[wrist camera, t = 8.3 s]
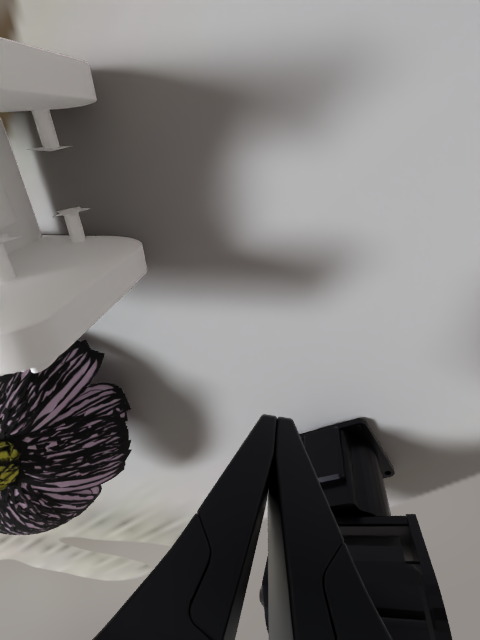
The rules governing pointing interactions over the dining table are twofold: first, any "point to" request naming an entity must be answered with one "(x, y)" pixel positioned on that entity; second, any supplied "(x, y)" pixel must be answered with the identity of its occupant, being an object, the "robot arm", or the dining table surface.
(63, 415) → the decorative flower
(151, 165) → the dining table surface
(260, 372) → the dining table surface
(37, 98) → the cable organizer
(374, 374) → the dining table surface
